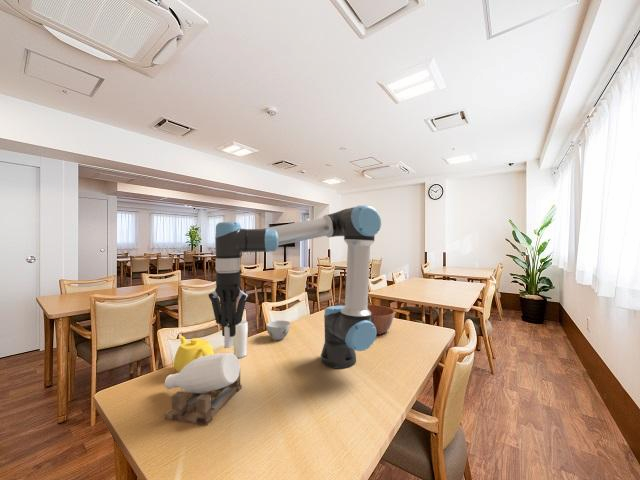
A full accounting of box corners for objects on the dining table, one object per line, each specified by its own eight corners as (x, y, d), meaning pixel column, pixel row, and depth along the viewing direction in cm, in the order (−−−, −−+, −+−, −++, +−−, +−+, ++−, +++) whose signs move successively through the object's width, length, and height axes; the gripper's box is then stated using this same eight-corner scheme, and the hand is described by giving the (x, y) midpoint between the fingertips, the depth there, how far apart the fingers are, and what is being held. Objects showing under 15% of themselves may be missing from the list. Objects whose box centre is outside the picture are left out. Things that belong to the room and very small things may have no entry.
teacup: (295, 337, 143) (295, 322, 143) (277, 345, 134) (277, 328, 134) (276, 331, 153) (276, 317, 153) (258, 338, 143) (258, 323, 143)
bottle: (223, 393, 79) (157, 406, 86) (245, 380, 90) (185, 393, 96) (217, 353, 82) (154, 369, 88) (239, 346, 92) (181, 360, 99)
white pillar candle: (243, 359, 118) (243, 325, 118) (229, 358, 119) (229, 324, 119) (250, 353, 124) (250, 320, 124) (237, 352, 125) (236, 319, 126)
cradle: (241, 388, 95) (241, 368, 95) (207, 425, 76) (207, 400, 76) (206, 383, 98) (206, 364, 98) (164, 418, 79) (164, 394, 79)
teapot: (188, 385, 97) (188, 350, 97) (163, 369, 109) (163, 338, 109) (222, 370, 108) (222, 338, 108) (196, 357, 120) (196, 329, 120)
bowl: (400, 338, 141) (399, 316, 141) (352, 338, 142) (352, 316, 142) (388, 323, 166) (388, 304, 166) (348, 323, 167) (347, 305, 167)
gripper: (252, 270, 87) (253, 343, 87) (216, 269, 90) (217, 340, 90) (241, 273, 80) (242, 352, 80) (202, 272, 83) (203, 349, 83)
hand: (228, 346), depth 85 cm, fingers closed
